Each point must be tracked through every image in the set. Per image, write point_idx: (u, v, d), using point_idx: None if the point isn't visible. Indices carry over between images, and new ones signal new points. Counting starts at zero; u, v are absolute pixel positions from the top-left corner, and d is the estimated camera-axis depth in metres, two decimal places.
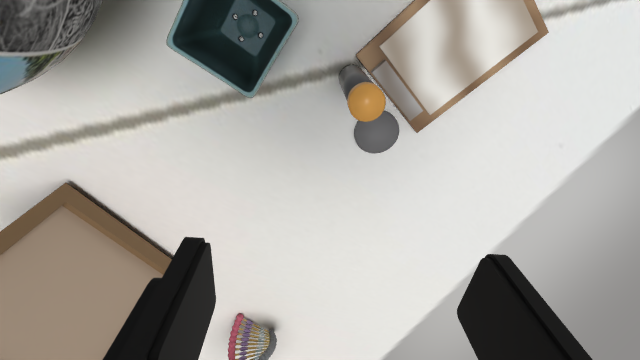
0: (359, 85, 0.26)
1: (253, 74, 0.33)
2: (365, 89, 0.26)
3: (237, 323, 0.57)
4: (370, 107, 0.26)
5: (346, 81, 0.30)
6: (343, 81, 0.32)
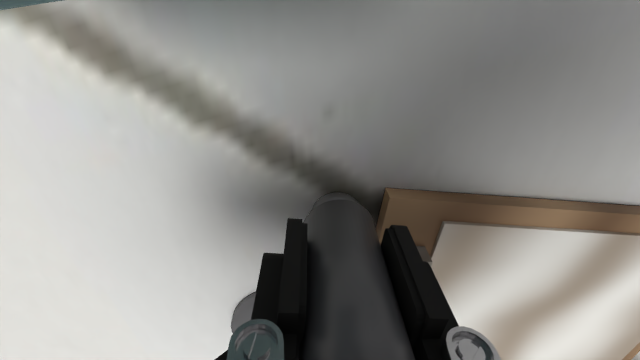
0: None
1: None
2: None
3: None
4: None
5: (350, 336, 0.07)
6: (332, 288, 0.08)
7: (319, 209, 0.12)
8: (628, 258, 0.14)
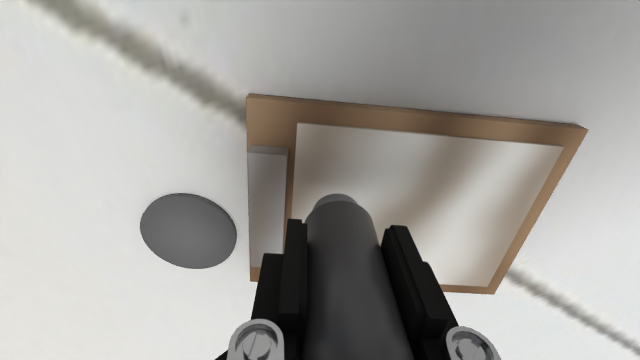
0: None
1: None
2: None
3: None
4: None
5: (349, 338, 0.07)
6: (332, 290, 0.08)
7: (319, 210, 0.12)
8: (469, 162, 0.17)
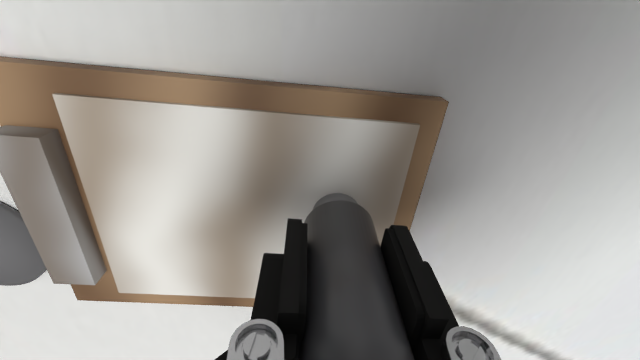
0: None
1: None
2: None
3: None
4: None
5: (349, 337, 0.07)
6: (332, 289, 0.08)
7: (319, 210, 0.12)
8: (301, 146, 0.13)
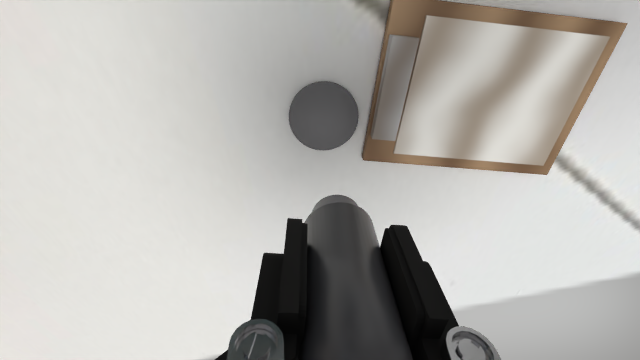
0: None
1: None
2: None
3: None
4: None
5: (349, 340, 0.07)
6: (331, 292, 0.08)
7: (319, 212, 0.12)
8: (542, 49, 0.23)
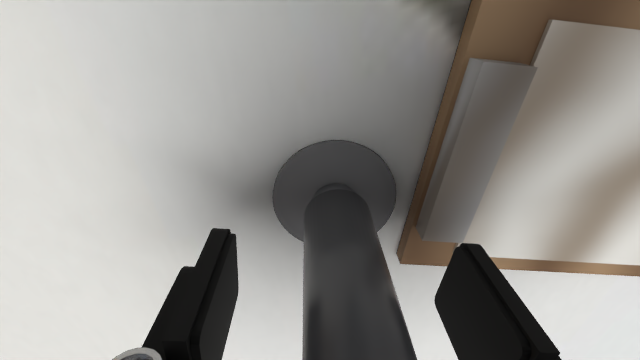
0: None
1: None
2: None
3: None
4: None
5: (348, 304, 0.08)
6: (332, 266, 0.09)
7: (319, 198, 0.13)
8: None
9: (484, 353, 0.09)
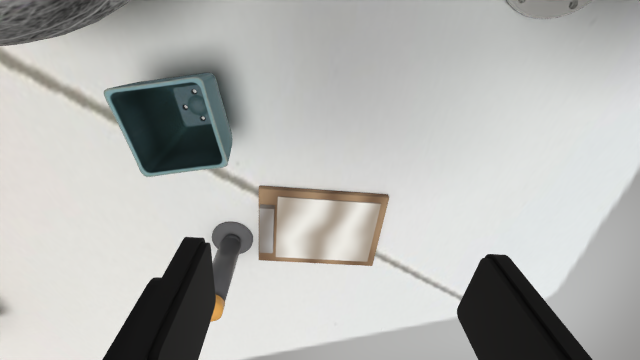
0: None
1: (168, 144, 0.34)
2: None
3: None
4: None
5: (216, 267, 0.38)
6: (217, 259, 0.40)
7: (223, 240, 0.43)
8: (345, 209, 0.42)
9: None
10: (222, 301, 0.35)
